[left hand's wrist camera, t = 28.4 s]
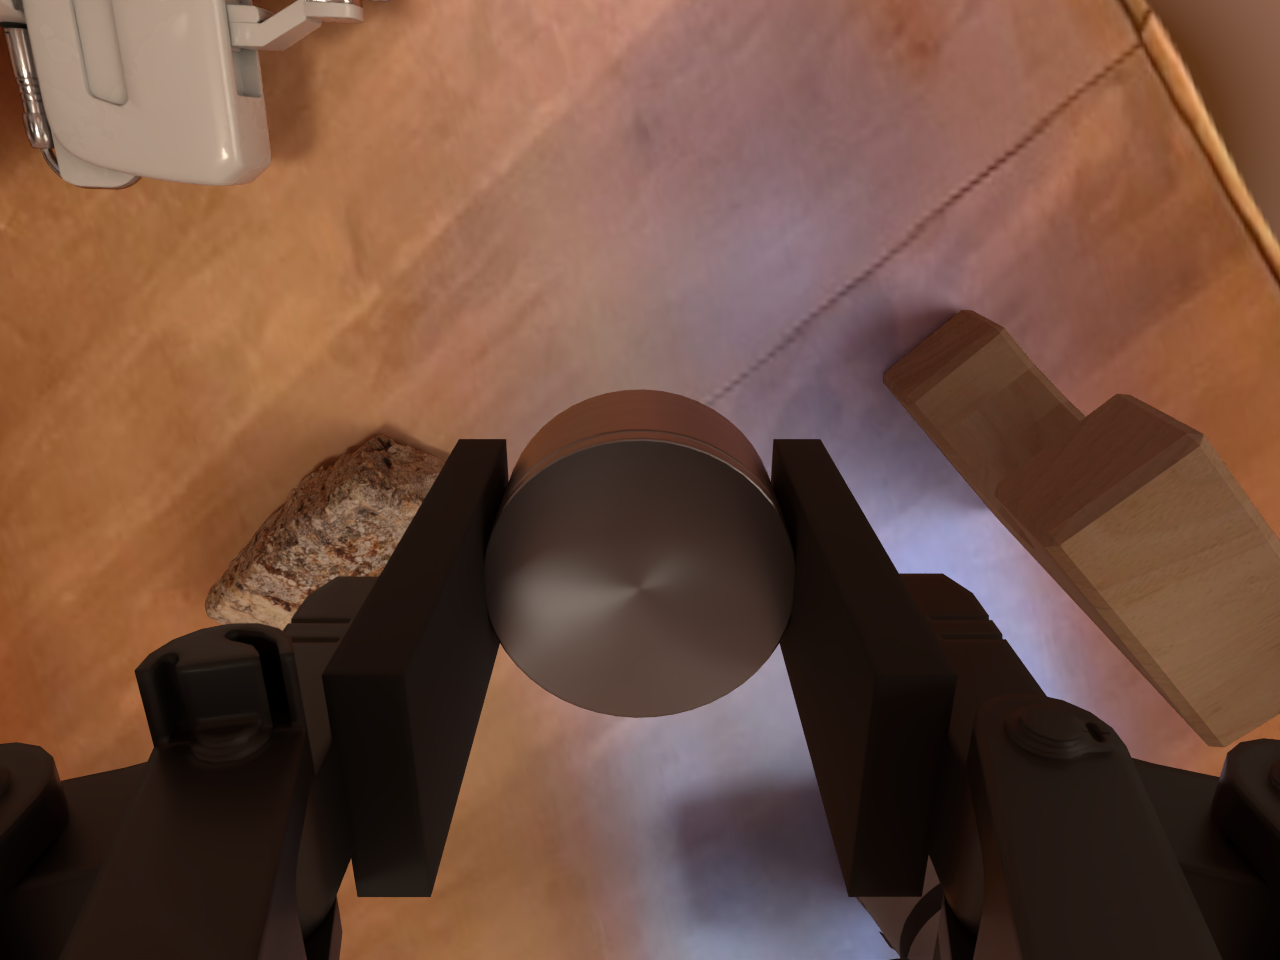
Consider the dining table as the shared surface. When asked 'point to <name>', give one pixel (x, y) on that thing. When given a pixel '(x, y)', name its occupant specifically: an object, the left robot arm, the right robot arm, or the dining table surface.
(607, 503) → the cap
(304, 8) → the right robot arm
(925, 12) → the dining table surface
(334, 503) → the rock
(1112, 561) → the decorative block
